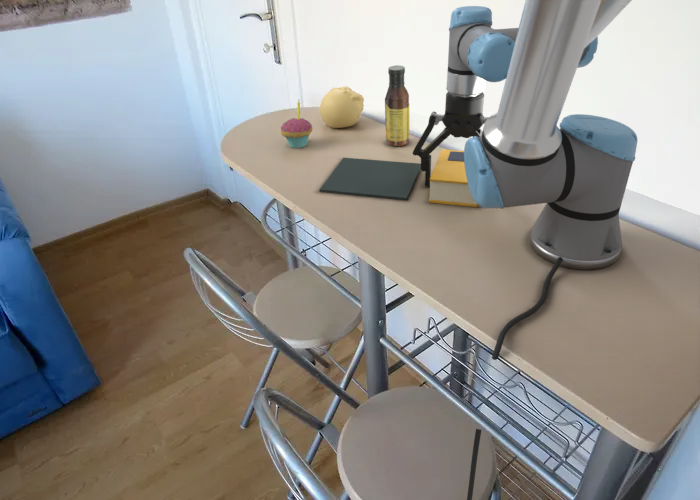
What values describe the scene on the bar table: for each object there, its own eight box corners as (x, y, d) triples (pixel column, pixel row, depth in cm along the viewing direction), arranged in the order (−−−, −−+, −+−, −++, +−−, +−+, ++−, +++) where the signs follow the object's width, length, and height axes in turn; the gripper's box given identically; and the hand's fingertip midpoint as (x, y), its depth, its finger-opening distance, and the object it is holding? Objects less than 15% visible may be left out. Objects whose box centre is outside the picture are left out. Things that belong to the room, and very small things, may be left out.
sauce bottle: (393, 137, 143) (393, 62, 132) (413, 141, 140) (415, 64, 129) (380, 145, 138) (379, 68, 128) (401, 149, 135) (401, 71, 124)
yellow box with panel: (479, 207, 108) (481, 183, 105) (428, 202, 111) (429, 178, 108) (485, 174, 121) (488, 152, 118) (440, 170, 124) (441, 148, 120)
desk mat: (406, 200, 112) (406, 197, 112) (319, 191, 118) (319, 189, 117) (421, 165, 126) (422, 163, 126) (343, 159, 132) (343, 157, 131)
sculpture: (370, 123, 153) (369, 86, 147) (339, 135, 146) (337, 96, 140) (343, 115, 160) (341, 79, 154) (313, 125, 153) (310, 88, 147)
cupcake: (296, 137, 146) (292, 94, 140) (320, 142, 142) (316, 98, 135) (276, 147, 141) (270, 103, 134) (300, 153, 136) (295, 108, 130)
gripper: (531, 88, 104) (517, 184, 116) (407, 83, 110) (406, 174, 122) (530, 100, 98) (515, 200, 110) (399, 94, 105) (399, 189, 116)
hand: (458, 187), depth 116 cm, fingers open, 13 cm apart
